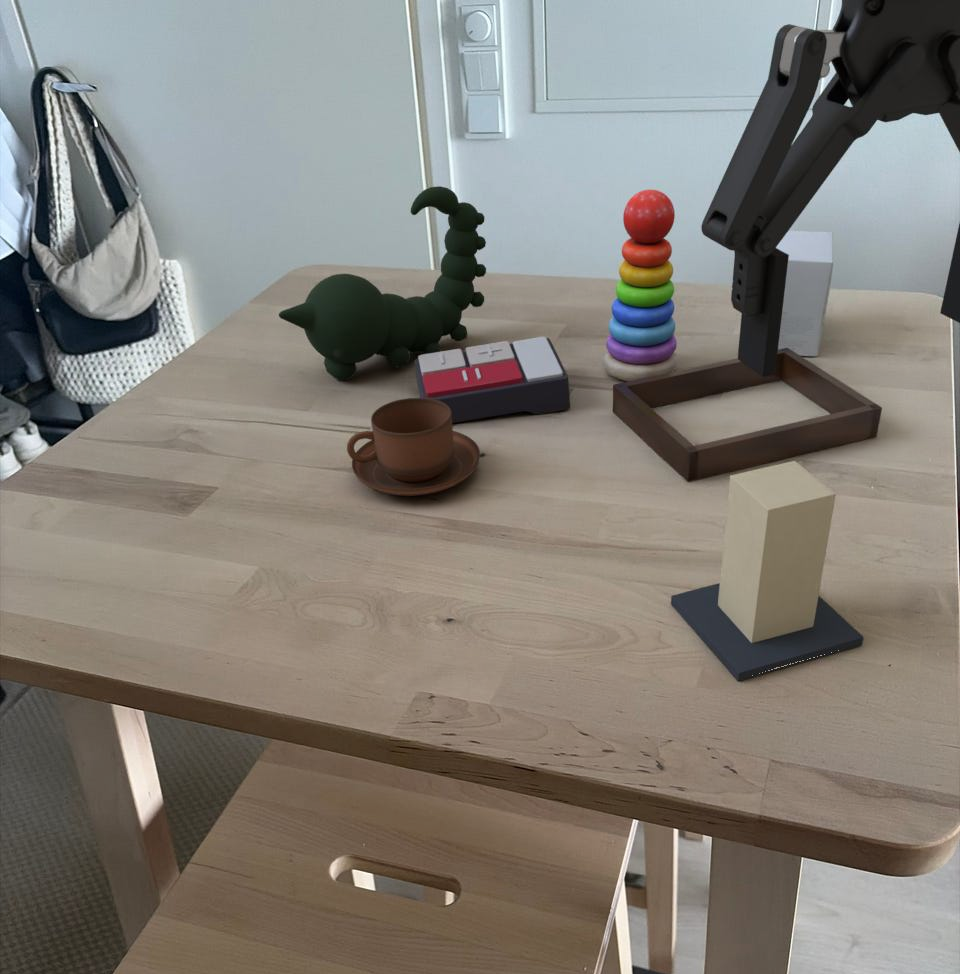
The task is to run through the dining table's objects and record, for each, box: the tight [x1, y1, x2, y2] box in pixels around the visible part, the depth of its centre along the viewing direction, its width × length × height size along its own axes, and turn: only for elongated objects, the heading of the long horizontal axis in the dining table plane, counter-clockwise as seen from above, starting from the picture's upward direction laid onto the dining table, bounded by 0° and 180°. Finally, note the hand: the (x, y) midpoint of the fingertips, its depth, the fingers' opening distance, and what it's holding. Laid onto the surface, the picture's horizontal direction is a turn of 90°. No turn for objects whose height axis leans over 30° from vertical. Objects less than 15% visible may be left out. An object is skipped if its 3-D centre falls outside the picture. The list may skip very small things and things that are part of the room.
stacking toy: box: [603, 189, 678, 382], centre depth 107 cm, size 8×8×19 cm
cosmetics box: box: [776, 230, 834, 357], centre depth 114 cm, size 10×6×10 cm, turn 165°
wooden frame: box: [612, 348, 883, 483], centre depth 100 cm, size 20×16×3 cm
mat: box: [670, 582, 864, 682], centre depth 76 cm, size 10×10×1 cm
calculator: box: [413, 336, 571, 424], centre depth 109 cm, size 11×4×15 cm
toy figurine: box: [278, 185, 487, 381], centre depth 113 cm, size 9×19×25 cm
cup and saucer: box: [346, 397, 481, 497], centre depth 95 cm, size 12×12×6 cm
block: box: [718, 460, 837, 643], centre depth 72 cm, size 5×5×11 cm
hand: (860, 343), depth 59 cm, fingers open, 13 cm apart
